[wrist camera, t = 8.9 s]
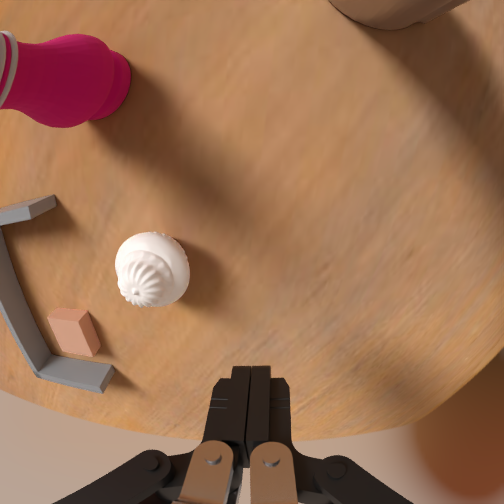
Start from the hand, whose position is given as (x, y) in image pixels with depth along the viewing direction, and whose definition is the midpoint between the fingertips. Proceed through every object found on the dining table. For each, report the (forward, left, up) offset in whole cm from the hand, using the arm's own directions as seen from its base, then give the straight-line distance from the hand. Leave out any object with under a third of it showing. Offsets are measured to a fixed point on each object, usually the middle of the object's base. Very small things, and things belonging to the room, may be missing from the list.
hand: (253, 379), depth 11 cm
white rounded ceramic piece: (+8, 0, -14) cm, 17 cm away
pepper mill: (+12, -16, -14) cm, 24 cm away
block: (+22, +9, -14) cm, 28 cm away
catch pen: (+25, +4, -14) cm, 29 cm away
